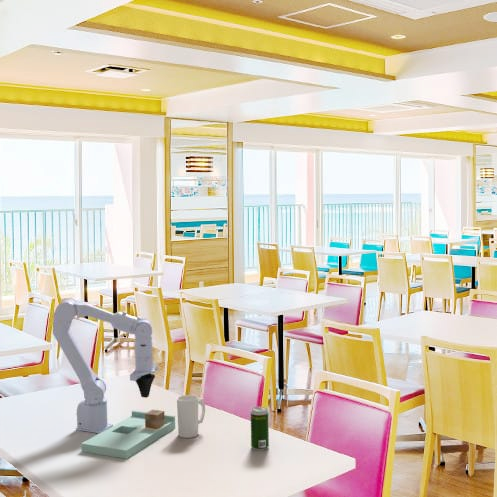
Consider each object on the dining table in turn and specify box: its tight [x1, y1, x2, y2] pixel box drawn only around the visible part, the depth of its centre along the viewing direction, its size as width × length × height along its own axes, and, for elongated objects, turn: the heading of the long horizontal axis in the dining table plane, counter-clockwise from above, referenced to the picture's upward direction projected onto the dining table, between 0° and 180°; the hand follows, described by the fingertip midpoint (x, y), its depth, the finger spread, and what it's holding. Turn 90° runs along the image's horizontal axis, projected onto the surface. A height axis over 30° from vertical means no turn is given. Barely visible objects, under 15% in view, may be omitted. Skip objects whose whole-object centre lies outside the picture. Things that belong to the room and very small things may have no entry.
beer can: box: [250, 406, 270, 452], centre depth 215 cm, size 5×5×12 cm
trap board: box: [80, 410, 176, 460], centre depth 224 cm, size 16×29×4 cm, turn 157°
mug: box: [176, 394, 206, 439], centre depth 228 cm, size 10×7×12 cm, turn 128°
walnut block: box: [145, 409, 165, 429], centre depth 229 cm, size 4×4×4 cm
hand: (145, 396), depth 236 cm, fingers closed
